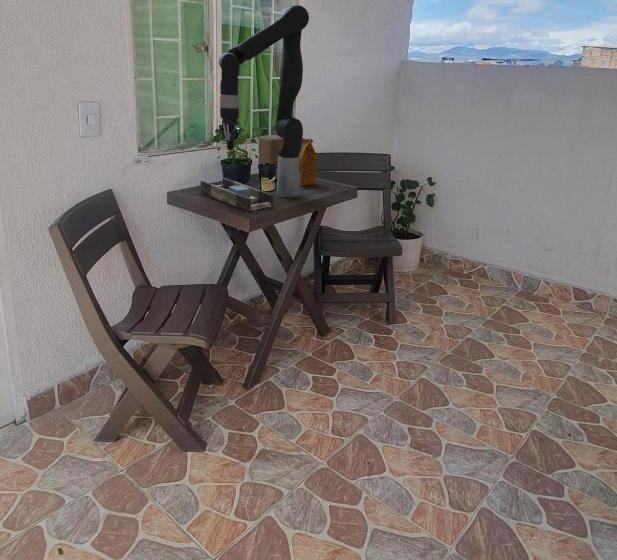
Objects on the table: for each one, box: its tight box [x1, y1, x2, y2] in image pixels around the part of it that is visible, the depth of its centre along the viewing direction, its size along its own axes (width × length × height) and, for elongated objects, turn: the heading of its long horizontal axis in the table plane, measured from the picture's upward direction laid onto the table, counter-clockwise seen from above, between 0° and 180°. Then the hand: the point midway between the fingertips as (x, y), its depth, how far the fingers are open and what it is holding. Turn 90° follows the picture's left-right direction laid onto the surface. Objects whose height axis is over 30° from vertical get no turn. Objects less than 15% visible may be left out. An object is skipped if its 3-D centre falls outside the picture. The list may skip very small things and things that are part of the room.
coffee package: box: [299, 137, 317, 187], centre depth 262 cm, size 10×12×22 cm
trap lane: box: [200, 177, 274, 212], centre depth 234 cm, size 12×35×5 cm, turn 42°
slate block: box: [229, 185, 250, 198], centre depth 230 cm, size 6×7×4 cm
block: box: [257, 134, 284, 179], centre depth 271 cm, size 10×10×20 cm
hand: (230, 149), depth 231 cm, fingers closed
